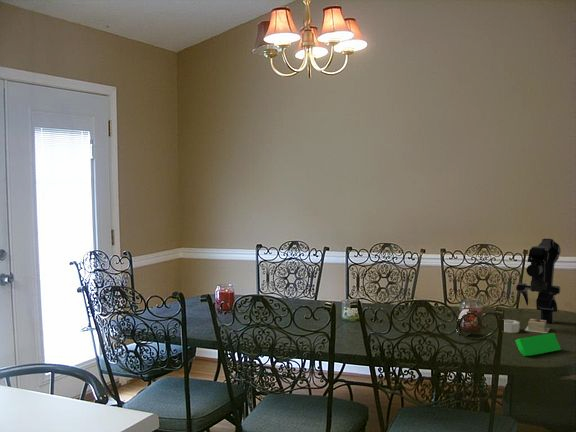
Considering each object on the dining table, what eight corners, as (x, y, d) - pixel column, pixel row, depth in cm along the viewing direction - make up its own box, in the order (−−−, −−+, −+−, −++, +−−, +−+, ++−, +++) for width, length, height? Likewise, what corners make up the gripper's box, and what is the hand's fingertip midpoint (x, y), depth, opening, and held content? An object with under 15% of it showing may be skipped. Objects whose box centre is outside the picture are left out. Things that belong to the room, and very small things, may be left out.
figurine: (474, 337, 261) (474, 311, 261) (457, 336, 263) (457, 310, 262) (472, 332, 268) (472, 307, 268) (455, 332, 270) (456, 307, 269)
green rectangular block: (544, 356, 246) (537, 339, 249) (561, 349, 238) (554, 332, 241) (509, 362, 238) (503, 344, 241) (526, 355, 230) (519, 338, 233)
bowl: (502, 328, 276) (502, 319, 276) (520, 330, 272) (520, 321, 272) (499, 332, 269) (499, 322, 269) (517, 334, 265) (517, 324, 265)
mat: (527, 326, 279) (527, 325, 279) (550, 329, 274) (550, 328, 274) (524, 331, 270) (524, 330, 270) (547, 334, 265) (547, 333, 265)
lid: (530, 326, 277) (530, 317, 276) (546, 328, 273) (546, 318, 273) (528, 330, 271) (528, 320, 270) (544, 332, 267) (544, 321, 267)
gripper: (514, 274, 268) (514, 307, 269) (558, 278, 258) (557, 312, 260) (518, 271, 277) (517, 303, 279) (560, 274, 268) (560, 306, 269)
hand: (537, 306), depth 271 cm, fingers open, 9 cm apart
